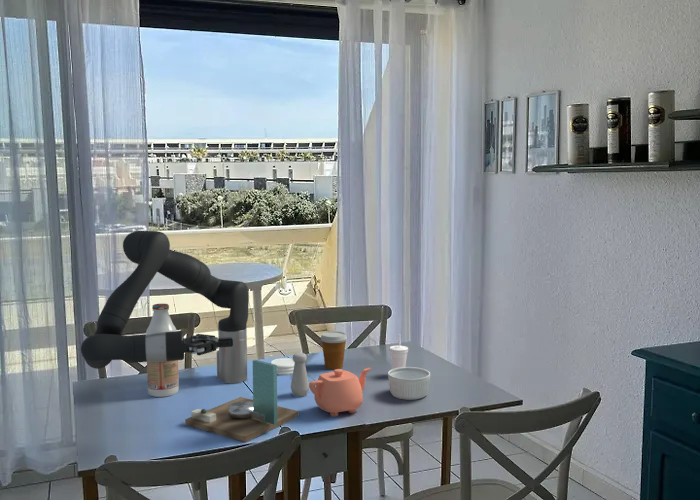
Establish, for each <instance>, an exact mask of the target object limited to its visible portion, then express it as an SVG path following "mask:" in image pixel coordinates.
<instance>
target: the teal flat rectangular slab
mask: <svg viewBox="0 0 700 500" xmlns="http://www.w3.org/2000/svg"><path fill="white" fill-rule="evenodd" d="M252 400H253V402H249V401H241V402H235V403H232V404H230V405H229V406H228V415H229V416H230V417H233V418H249V417H252V418H255V419H258V420H261V421H264V422H267V423H270V424H273V425H275V424H277V406H278V375H277V365H275V364H271V363H270V362H267V361H262V360H259V359H253V360H252Z"/></svg>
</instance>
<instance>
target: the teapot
mask: <svg viewBox="0 0 700 500" xmlns="http://www.w3.org/2000/svg"><path fill="white" fill-rule="evenodd" d="M370 370H372V367H367V368H364V369H363V370H362V371H361V373H360V376H359V377H358V376H357V375H356V374H354V373H352V372H350V371H348V370H344V369H343V368H341V369H335V370H333V371H329V372H324V373H321V374H319V376H318V378H317V380H312V381H310V382H309V390H310V391H311V393H312V394H313V396H314V401H315V404H316V406H318V407H319V408H320V410H321V409H322V410H321V411H325V412H327V413H330V414H329V416H330V415H331V416H330V417H332V416H336V417H338V416H339V413H341V412H348V413H349V414H355V413H357V410H356V409H359V408H361V406H362V404H363V402H364V394H363V391H364V390H365V387H366V380H367V379H366V377H367V373H368V372H369V371H370Z"/></svg>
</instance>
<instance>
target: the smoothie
mask: <svg viewBox="0 0 700 500" xmlns="http://www.w3.org/2000/svg"><path fill="white" fill-rule="evenodd" d="M388 351H389V352H390V358H391V360H390V361H391V368H392V369H395V368H400V367H406V365H407V363H406V362H407V358H408V352H409V347H408V346H406V345H402V343H401V334H398V344H397V345H391V346H390V347H389V350H388ZM392 369H391V370H392Z"/></svg>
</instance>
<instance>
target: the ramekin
mask: <svg viewBox="0 0 700 500" xmlns="http://www.w3.org/2000/svg"><path fill="white" fill-rule="evenodd" d="M387 378H388V385H389V391H390V394H391V395H392V396H393V397H395V398H396V399H400V400H406V401H407V400H408V401H415V400H419V399H423V398H424V397H426V396H427V395H428V392H429V387H430V379H431V372H430V371H429V370H427V369H425V368H421V367H415V366H414V367H413V366H405V367H400V368H395V369H390V370H389V371H388V372H387Z"/></svg>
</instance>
